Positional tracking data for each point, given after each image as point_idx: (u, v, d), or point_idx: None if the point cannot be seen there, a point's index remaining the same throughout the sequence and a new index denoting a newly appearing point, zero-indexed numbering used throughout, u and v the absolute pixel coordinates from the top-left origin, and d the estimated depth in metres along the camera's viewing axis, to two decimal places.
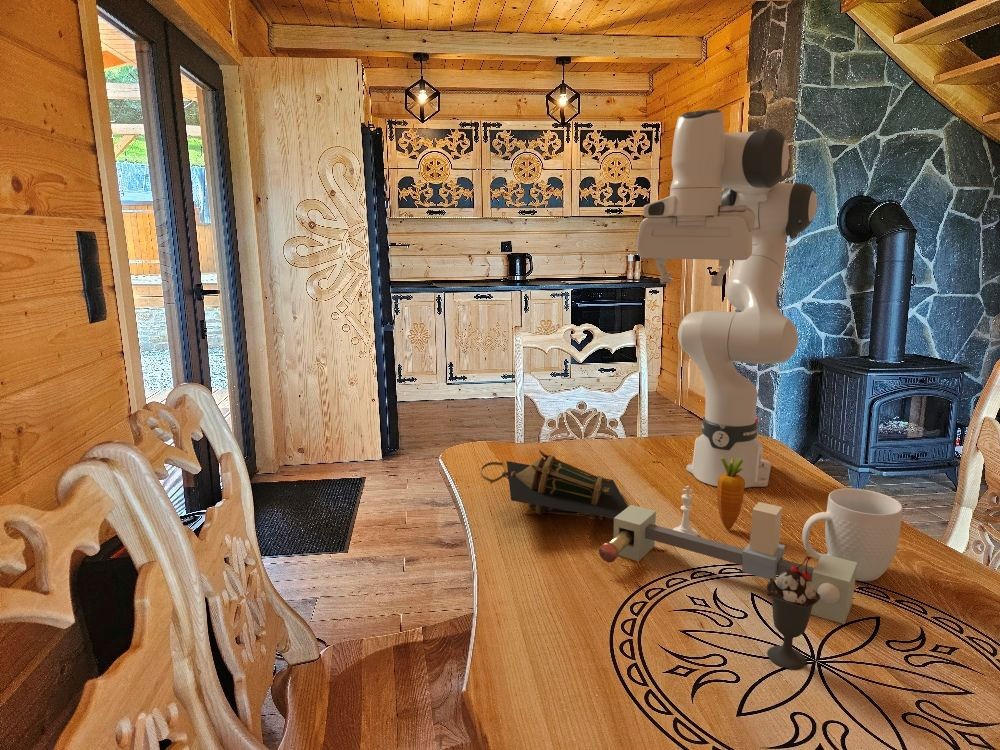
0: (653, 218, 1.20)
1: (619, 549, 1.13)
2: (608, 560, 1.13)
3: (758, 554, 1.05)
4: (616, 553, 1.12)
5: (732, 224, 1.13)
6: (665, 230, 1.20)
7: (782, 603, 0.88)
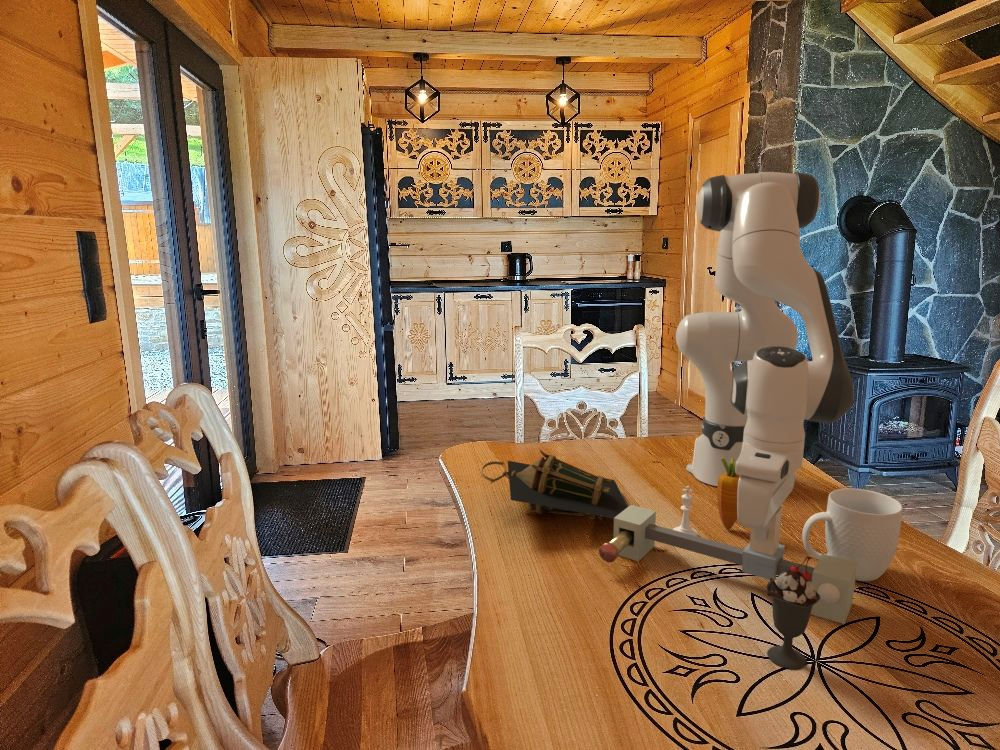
0: None
1: (619, 549, 1.13)
2: (608, 560, 1.13)
3: (758, 554, 1.05)
4: (616, 553, 1.12)
5: None
6: None
7: (782, 603, 0.88)
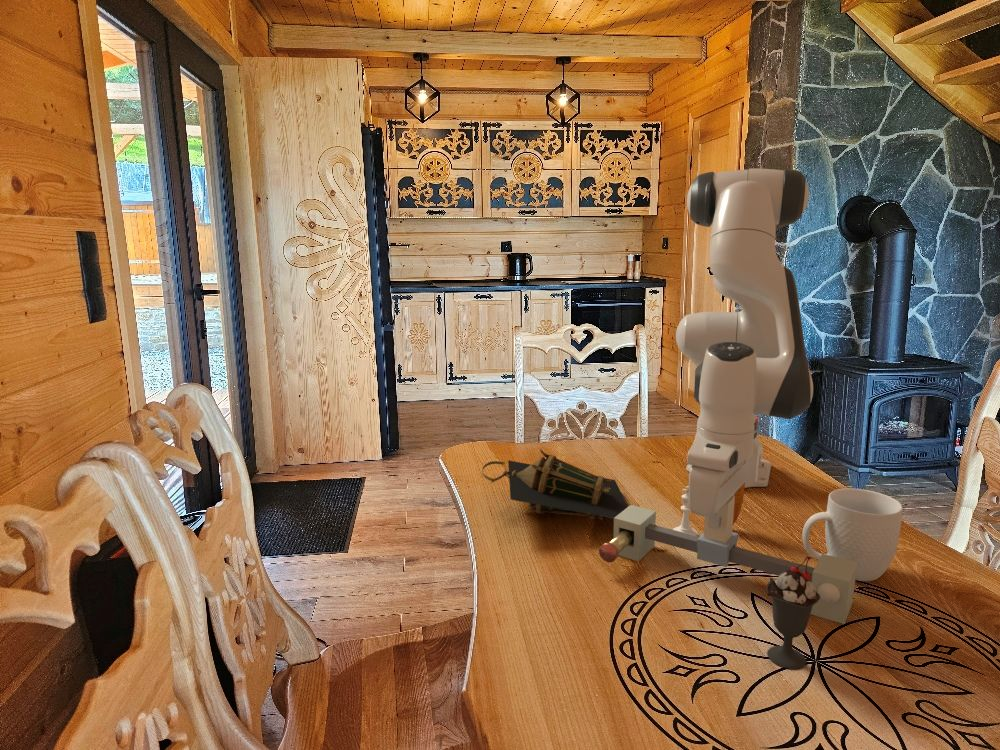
0: None
1: (619, 549, 1.13)
2: (608, 560, 1.13)
3: (711, 541, 1.10)
4: (616, 553, 1.12)
5: None
6: None
7: (782, 603, 0.88)
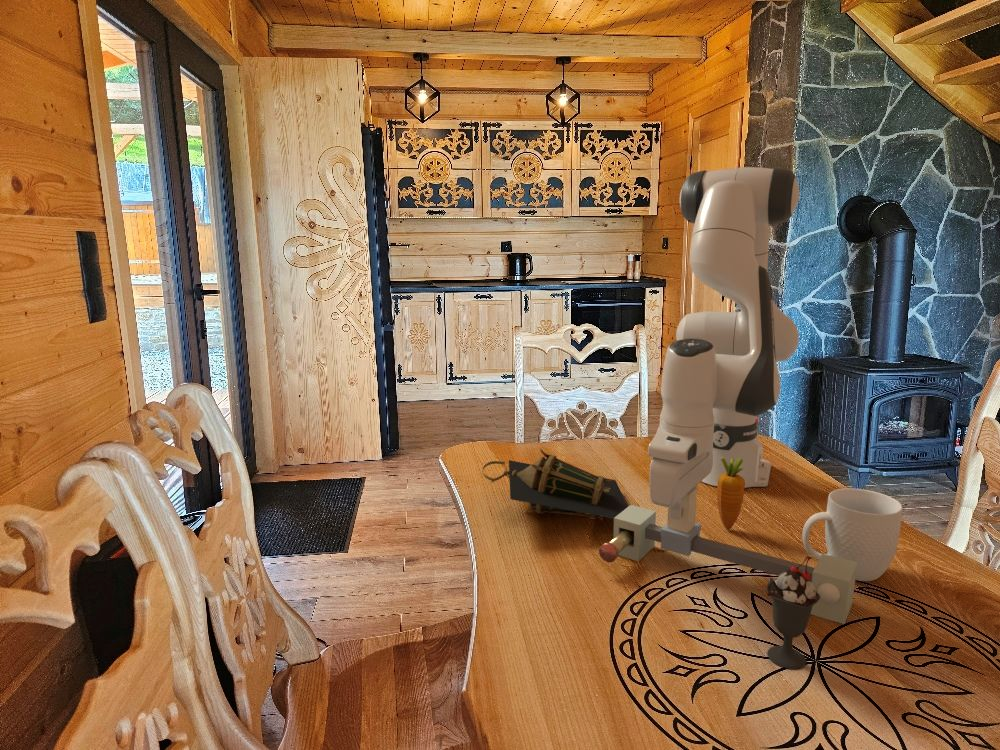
0: None
1: (619, 549, 1.13)
2: (608, 560, 1.13)
3: (674, 531, 1.13)
4: (616, 553, 1.12)
5: None
6: (683, 469, 1.08)
7: (782, 603, 0.88)
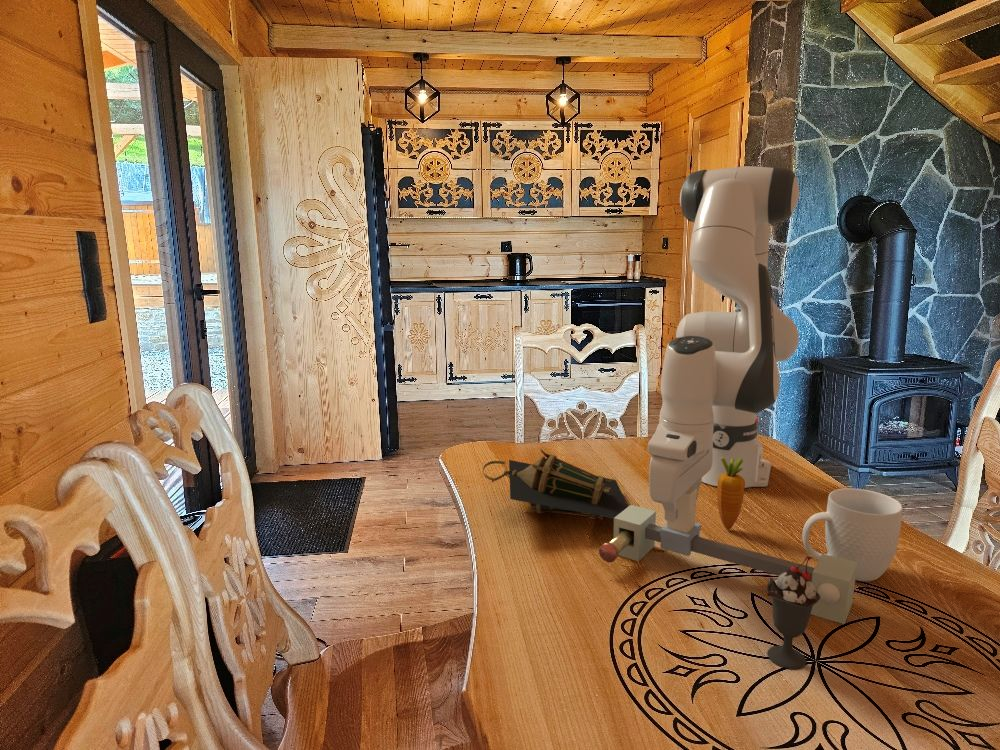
0: (685, 459, 1.05)
1: (619, 549, 1.13)
2: (608, 560, 1.13)
3: (674, 531, 1.13)
4: (616, 553, 1.12)
5: None
6: (682, 467, 1.08)
7: (782, 603, 0.88)
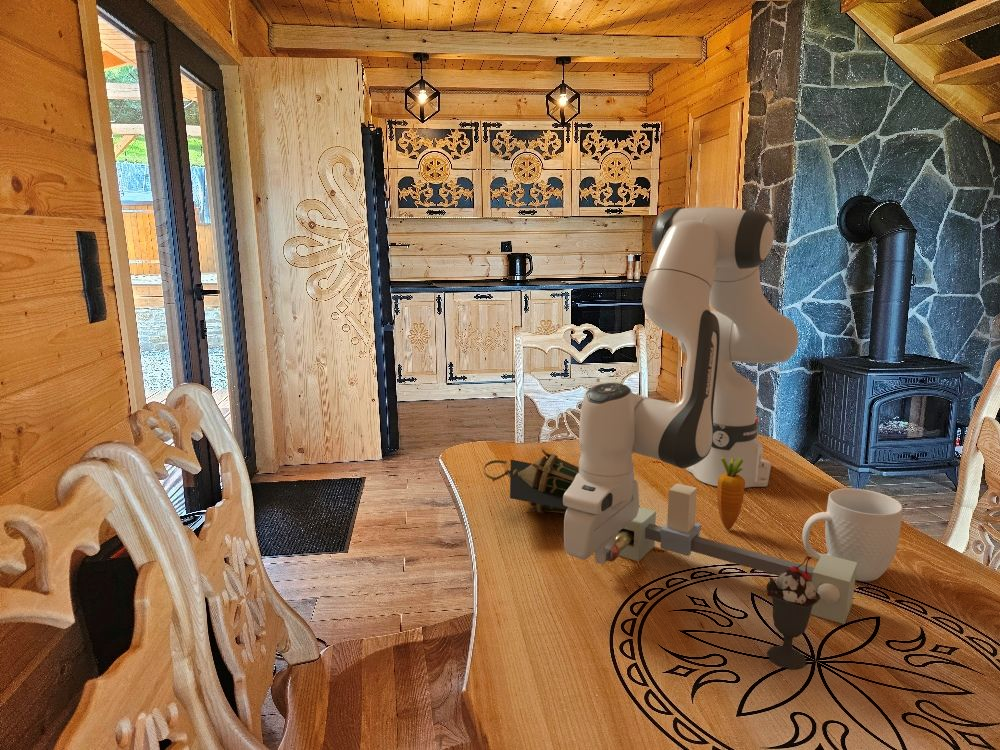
0: (600, 512, 1.02)
1: (620, 548, 1.14)
2: (609, 559, 1.13)
3: (674, 531, 1.13)
4: (617, 552, 1.12)
5: (633, 489, 1.14)
6: (599, 519, 1.05)
7: (782, 603, 0.88)
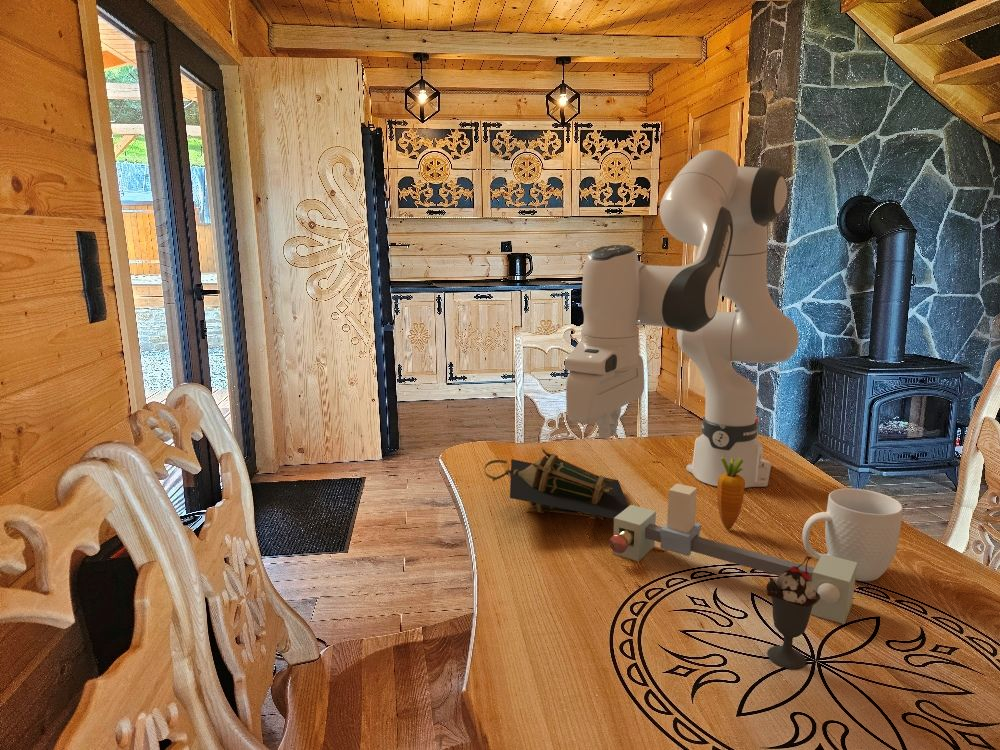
0: (604, 375, 0.97)
1: (629, 540, 1.16)
2: (618, 551, 1.16)
3: (674, 531, 1.13)
4: (626, 544, 1.15)
5: (638, 364, 1.09)
6: (603, 385, 1.00)
7: (782, 603, 0.88)
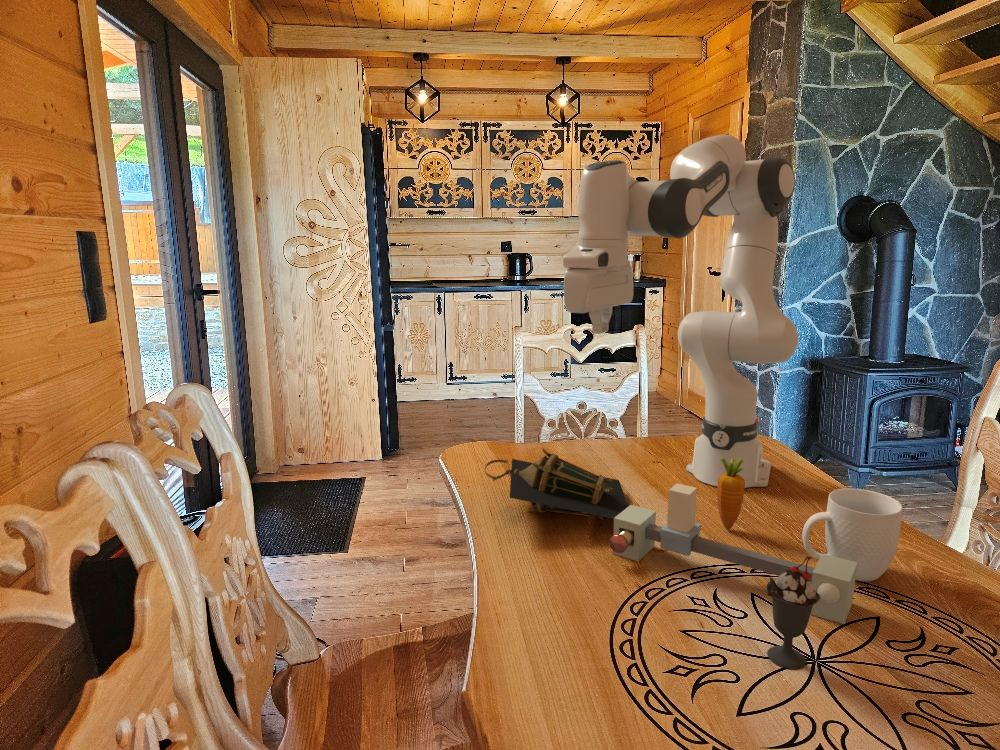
0: (597, 270, 1.12)
1: (629, 540, 1.16)
2: (618, 551, 1.16)
3: (674, 531, 1.13)
4: (626, 544, 1.15)
5: (628, 271, 1.23)
6: (596, 281, 1.14)
7: (782, 603, 0.88)
